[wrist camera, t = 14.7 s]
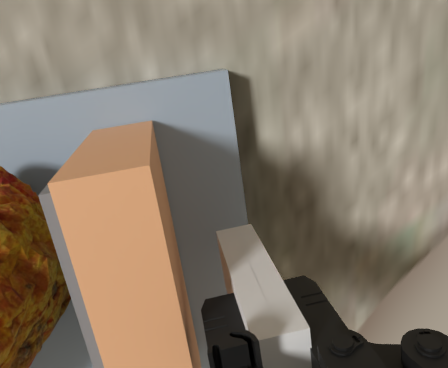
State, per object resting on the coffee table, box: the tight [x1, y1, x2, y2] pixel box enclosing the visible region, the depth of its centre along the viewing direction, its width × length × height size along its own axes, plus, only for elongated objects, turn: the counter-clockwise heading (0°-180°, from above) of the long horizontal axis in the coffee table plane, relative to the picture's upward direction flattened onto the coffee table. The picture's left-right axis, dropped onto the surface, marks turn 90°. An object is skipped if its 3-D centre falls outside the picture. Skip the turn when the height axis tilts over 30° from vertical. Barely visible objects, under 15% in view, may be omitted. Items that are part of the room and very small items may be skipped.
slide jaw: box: [38, 120, 201, 368], centre depth 15 cm, size 12×3×7 cm, turn 8°
